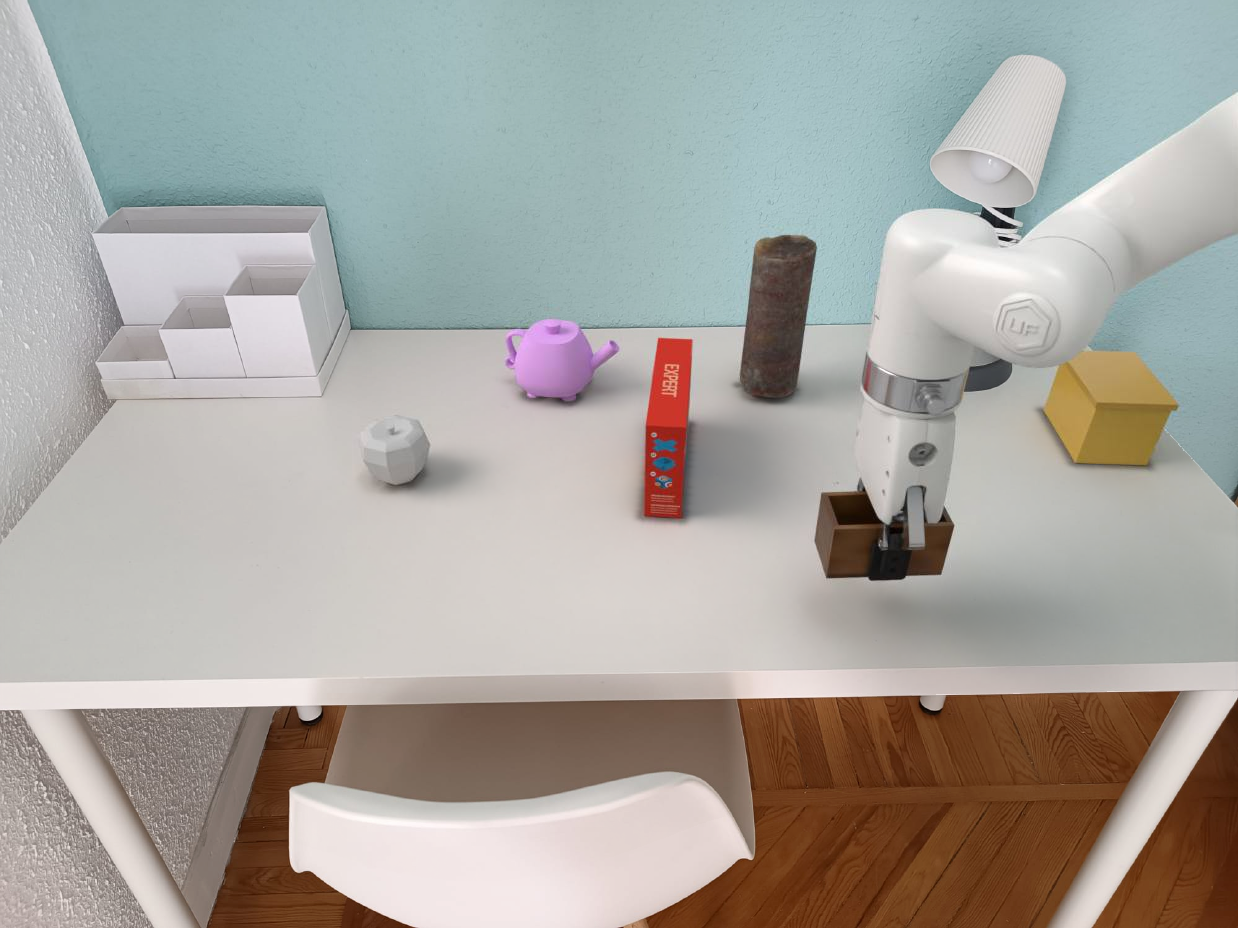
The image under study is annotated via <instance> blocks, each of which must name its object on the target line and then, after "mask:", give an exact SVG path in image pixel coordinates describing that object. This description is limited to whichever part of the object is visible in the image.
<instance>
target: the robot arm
mask: <svg viewBox="0 0 1238 928" xmlns="http://www.w3.org/2000/svg"><path fill="white" fill-rule="evenodd" d="M885 235H886V236H885V241H884V244H883V249H882V257H881V262H880V268H879V272H878V273H879V274H878V278H877V279H878V281H877V286H876V292H875V299H874V305H873V310H872V316H871V322H870V329H869V334H868V339H867V346H866V352H865V358H864V362H863V363H864V364H863V368H862V369H863V370H862V375H861V381H860V388H859V391H860V393H861V395H862V397H863V402H862V407H861V410H860V415H859V420H858V425H857V430H856V436H855V445H854V462H855V466H856V469H857V472H858V474H859V479H858V482H857V485H856V491H866V492H867V494H868V496H869V499H870V501H871V503H872V506H873V508H874V510H875V512H876V514H877V516H878V518H879V519H880V525H879V538H878V541H877V542H873V547H872V552H871V557H870V562H869V567H868V571H867V576H868V577H867V579H868V580H869V581H871V582H877V581H880V582H881V581H883V582H884V581H903V580H904V579H906V578H907V576H906V574H907V570H908V566H909V561H910V557H911V553H912V550H919V549H924V548H925V533H924V516H925V518H926V520H927V522H928V523H933V524H935V523H937V522H938V521H939V520H940V518H941V515H942V512H943V507H944V506H945V503H946V498H947V493H948V487H949V482H950V476H951V471H952V464H953V457H954V450H955V441H956V422H957V421H956V419H957V416H956V413H955V412H956V411H957V410H959V408H960V406H961V404H962V400H963V396H964V393H965V388H966V385H967V380H968V377H969V374H970V373H969V372H970V368H971V363H972V360H973V357H974V353H975V348H978V349H979V350H981V351H984V352H986V353H988V354H990V355H992V356H993V357H996V358H998V359H1000V360H1002V361H1005V362H1007V363H1010V364H1013V365H1016V366H1020V367H1025V368H1031V369H1047V368H1054V367H1059V365H1061V364H1063V363H1066V362H1068V361H1070V360H1072V359H1073V358H1075V357H1076V356H1077V355H1079V354H1080V353H1081V352H1082V351H1085V349H1086V348H1087V347H1088V346H1089V345H1090V343H1092V341H1093V340H1094V338H1095V337H1096V335H1097V334H1098V332H1099V330H1100V328H1101V327H1102V325H1103V324H1104V322H1105V320H1106V319H1107V317H1108V316H1109V314H1110V312H1111V310H1112V309H1113V307H1114V305H1115V304H1116V302H1117V301H1118V300H1119V298H1120V297H1121V296H1122V295H1123V294H1124V293H1126V292H1127V291H1129V290H1130V289H1132V288H1133V287H1135V286H1137V285H1138V284H1140V283H1143V282H1144V281H1146V280H1148V279H1149V278H1151V277H1153V276H1154V275H1157V274H1158V273H1160V272H1162V271H1163V270H1165V269H1167V268H1169V267H1171V266H1173V265H1175V264H1176V263H1179V262H1181V261H1182V260H1184V259H1185V258H1188V257H1191V256H1192V255H1193V254H1196V253H1198V252H1199V251H1201V250H1203V249H1206V248H1208V247H1210V246H1212V245H1214V244H1217V243H1219V242H1221V241H1223V240H1226V239H1228V238H1232V237H1234V236H1237V235H1238V91H1237V92H1235V93H1234V94H1231V96H1228V98H1225V99H1224V100H1223V101H1221V102H1219V103H1218V104H1216V105H1215V106H1213V107H1211V108H1210V109H1209V110H1207V111H1206V112H1204V113H1203V114H1202V115H1201V116H1199V117H1198V118H1197V119H1195V120H1194V121H1192V122H1191V123H1190V124H1188V125H1186V126H1185V127H1183V128H1182V129H1180V130H1178V131H1177V132H1176V133H1174V134H1172V135H1170V136H1168V137H1167V138H1166V139H1164V140H1162V141H1160V142H1159V143H1157V144H1156V145H1154V146H1153V147H1151V148H1150V149H1147V150H1146V151H1145V152H1143V153H1142V154H1141V155H1139V156H1136V158H1134V159H1132V160H1130V161H1129V162H1127V163H1126V164H1125V165H1122V167H1120V168H1118V169H1116V170H1115V171H1114V172H1113V173H1110V174H1109V175H1108V176H1106V177H1105V178H1104V179H1103V178H1102V180H1100V181H1099V182H1097V183H1095V184H1094V185H1093V186H1091V187H1090V188H1088V189H1087V190H1085V191H1084V192H1082V193H1081V194H1079V195H1077V196H1076V197H1074V198H1073V199H1072V200H1070V201H1068V202H1066V203H1065V204H1064V205H1063V206H1061V207H1059V208H1058V209H1056V210H1055V211H1054V212H1052V213H1050V214H1049V215H1048V216H1047V217H1045V218H1044V219H1043V220H1041V221H1040V222H1038V224H1036V225H1035V226H1034V227H1033V228H1032V229H1031V230H1030V231H1029V232H1028V233H1026V234H1025V235H1024V236H1023V237H1022V238H1021V239H1020V241H1018V242H1017V244H1014V245H1011V246H1005V247H1001V246H1000V241H999V235H998V233H997V231H996V228H995V227H994V226H993V225H992V224H991V223H990V222H989V221H987V219H984V218H983V217H980V216H979V215H976V214H973V213H970V212H967V211H962V210H957V209H952V208H937V207H936V208H935V207H933V208H931V207H930V208H921V209H916V210H912V211H908V212H906V213H904V214H902V215H900V216H898V217H897V218H896V219H895V220H894V221H893V222H892V224H891V226H889V228H888V230H887V232H886V234H885ZM902 508H903V511H900V510H901V509H902ZM891 523H903V525H904V531H903V533H901V534H892V535H890V526H891Z"/></svg>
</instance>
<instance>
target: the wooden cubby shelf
mask: <svg viewBox="0 0 1238 928" xmlns="http://www.w3.org/2000/svg"><path fill="white" fill-rule="evenodd" d="M900 511H903V508H902V509H901V510H900ZM816 520H817V521H816V527H815V534H814V544H815V547H816V550H817V553H818V556H819V560H820V563H821V567H822V569H823V570H822V571H823V572H824V576H825V579H828V580H829V579H855V578H858V579H859V578H868V576H867V571H868V567H869V562H870V557H871V552H872V547H873V542H877V541H878V538H879V525H880V519H879V518H878V516H877V514H876V512H875V510H874V508H873V506H872V503H871V501H870V499H869V496H868V494H867V492H866V491H857V490H856V491H853V490H852V491H824V492H821V495H820V500H819V507H818V514H817V519H816ZM955 525H956V524H955V523H954V521H953V520H952V518H951V516H950V514H949V511H948V510H947V508H946V506H945V505H944V507H943V512H942V515H941V518H940V520H939V521H938V522H937V523H935V524H933V523H928V522H927V520H926V518H925V516H924V533H925V548H924V549H919V550H912V553H911V557H910V561H909V566H908V570H907V574H906V577H915V576H918V577H919V576H923V577H925V576H942V574H943V571H944V566H945V563H946V559H947V556H948V551H949V547H950V544H951V540H952V537H953V533H954V529H955ZM903 531H904V525H903V523H891V526H890V535H892V534H901V533H903Z"/></svg>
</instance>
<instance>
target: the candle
mask: <svg viewBox="0 0 1238 928" xmlns="http://www.w3.org/2000/svg"><path fill="white" fill-rule="evenodd" d="M817 250H818V245H817V242H816V241H814V239H811V238H809V237H808V236H806V235H802V234H781V235H778V236H775V237H769V236H768V237H767V236H766V237H763V238H760V239H759V240H758V241H756V242H755V244H754V248H753V255H752V266H751V274H750V281H749V292H748V303H747V312H746V318H745V329H744V336H743V344H742V345H743V346H742V352H741V359H740V361H741V362H740V371H739V383H740V385H741V387H742V389H743V390H744V391H745V392H746V393H747V394H748V395H752V396H755V397H766V398H774V399H775V398H776V399H779V398H783V397H785V396H787V395H790V394H793V393H794V391H795V390H796V389H797V386H798V380H799V375H800V368H801V360H802V355H803V353H802V352H803V346H804V338H805V332H806V323H807V316H808V310H809V304H810V303H809V302H810V296H811V289H812V283H813V277H814V276H813V275H814V269H815V263H816V257H817Z"/></svg>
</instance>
